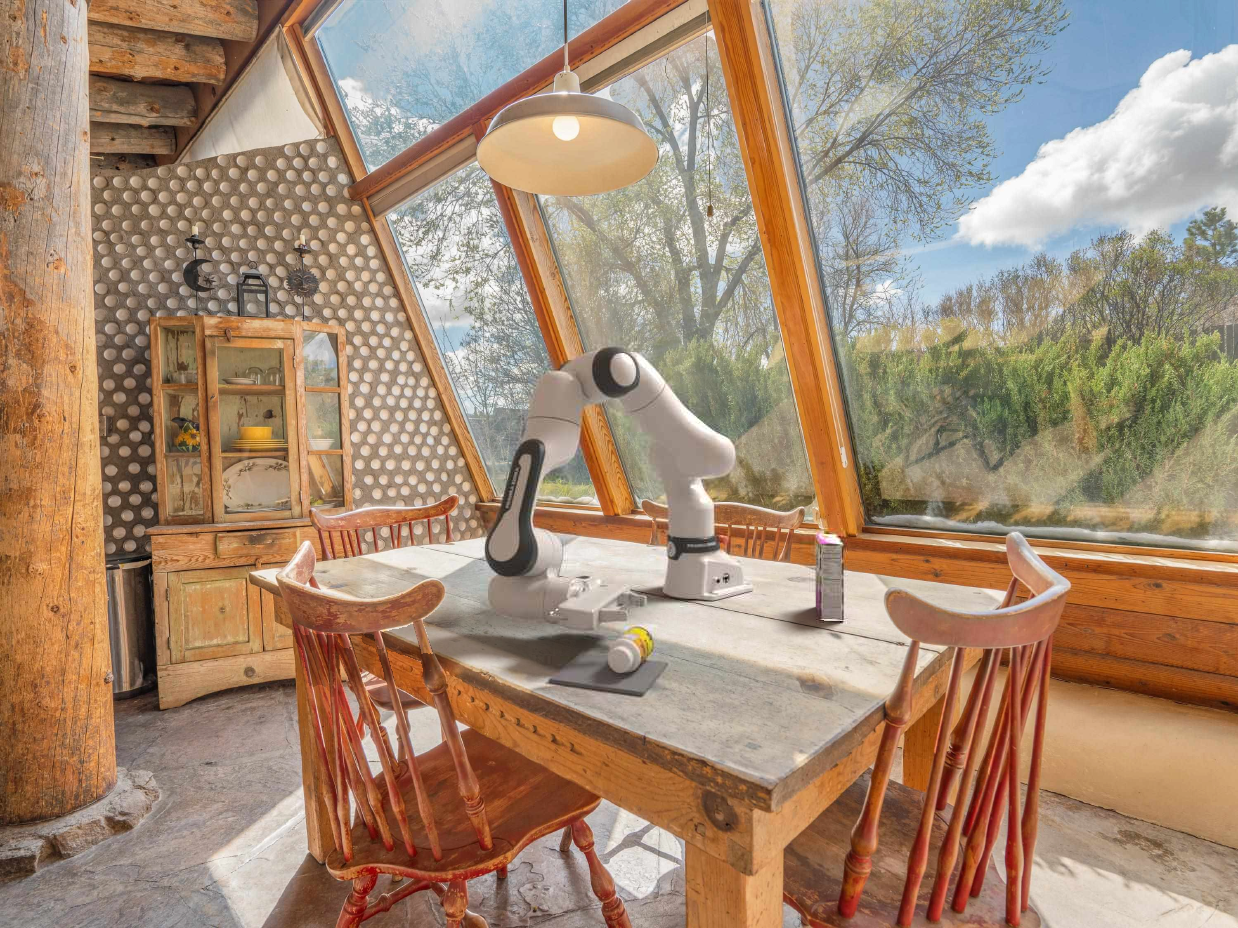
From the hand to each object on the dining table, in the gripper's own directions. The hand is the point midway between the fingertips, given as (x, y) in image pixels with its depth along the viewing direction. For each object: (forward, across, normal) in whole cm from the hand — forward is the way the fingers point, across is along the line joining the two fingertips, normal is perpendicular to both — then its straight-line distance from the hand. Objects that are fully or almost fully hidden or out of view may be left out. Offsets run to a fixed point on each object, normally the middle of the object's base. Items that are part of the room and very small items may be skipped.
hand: (637, 608), depth 117 cm
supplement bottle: (+2, -4, +5) cm, 6 cm away
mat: (-1, -12, +8) cm, 14 cm away
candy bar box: (+31, +34, +8) cm, 47 cm away
